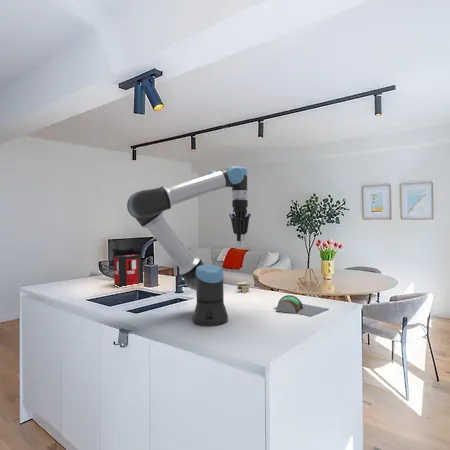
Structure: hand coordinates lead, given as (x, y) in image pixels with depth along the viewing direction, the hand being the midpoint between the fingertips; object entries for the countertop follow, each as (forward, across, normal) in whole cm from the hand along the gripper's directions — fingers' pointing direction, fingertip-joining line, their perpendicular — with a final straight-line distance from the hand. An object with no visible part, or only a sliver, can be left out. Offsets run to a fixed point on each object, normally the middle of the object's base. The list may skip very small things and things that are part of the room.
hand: (240, 247), depth 172 cm
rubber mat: (+29, +17, -23) cm, 41 cm away
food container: (+26, +7, -22) cm, 34 cm away
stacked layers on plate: (+30, +28, +25) cm, 48 cm away
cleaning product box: (+30, -8, +96) cm, 101 cm away
